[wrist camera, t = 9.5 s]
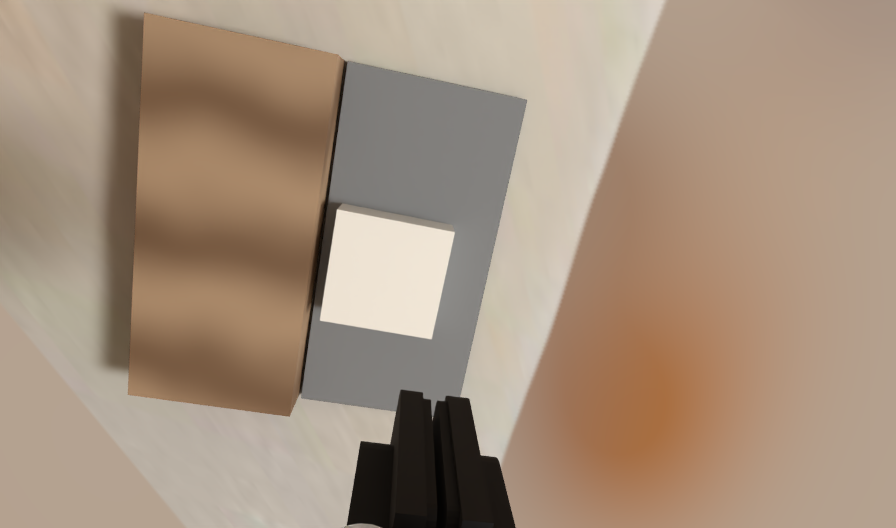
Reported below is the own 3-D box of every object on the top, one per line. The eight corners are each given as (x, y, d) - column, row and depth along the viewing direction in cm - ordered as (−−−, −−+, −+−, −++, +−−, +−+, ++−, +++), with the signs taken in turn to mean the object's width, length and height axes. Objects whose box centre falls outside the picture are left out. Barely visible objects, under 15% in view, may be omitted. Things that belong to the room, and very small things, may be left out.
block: (342, 203, 27) (337, 209, 25) (452, 224, 28) (455, 232, 26) (326, 307, 28) (319, 320, 26) (430, 325, 29) (431, 339, 27)
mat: (348, 62, 26) (347, 61, 25) (525, 100, 27) (527, 99, 26) (302, 393, 30) (301, 398, 30) (454, 415, 31) (454, 419, 31)
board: (170, 23, 25) (144, 12, 22) (344, 61, 26) (337, 54, 23) (151, 372, 29) (127, 394, 27) (299, 393, 30) (289, 416, 28)
